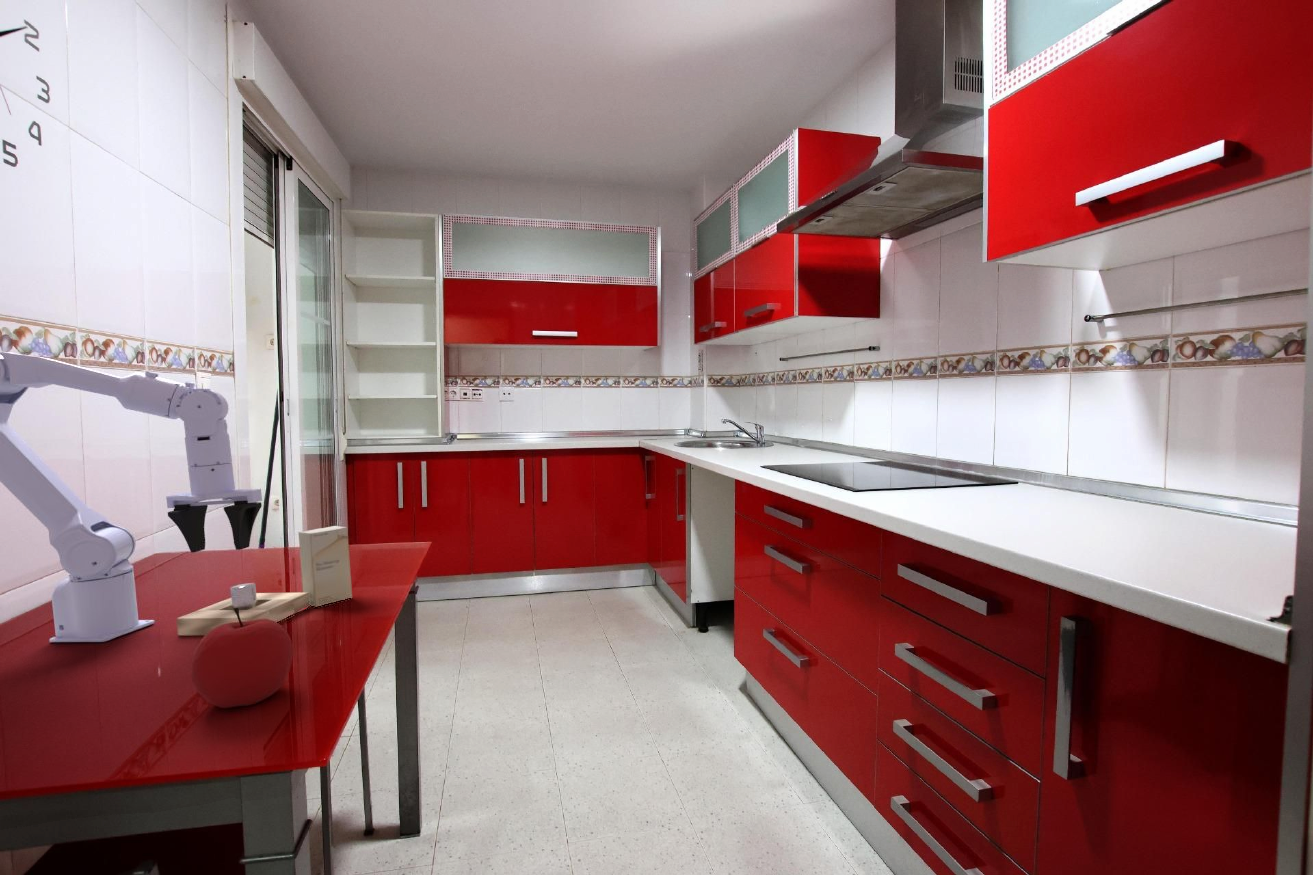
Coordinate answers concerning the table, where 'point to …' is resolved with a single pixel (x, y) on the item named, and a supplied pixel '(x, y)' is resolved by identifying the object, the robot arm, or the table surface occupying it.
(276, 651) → the apple
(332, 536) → the skincare box
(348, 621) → the table surface
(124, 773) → the table surface
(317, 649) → the table surface
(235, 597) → the grey block
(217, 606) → the wooden square frame
